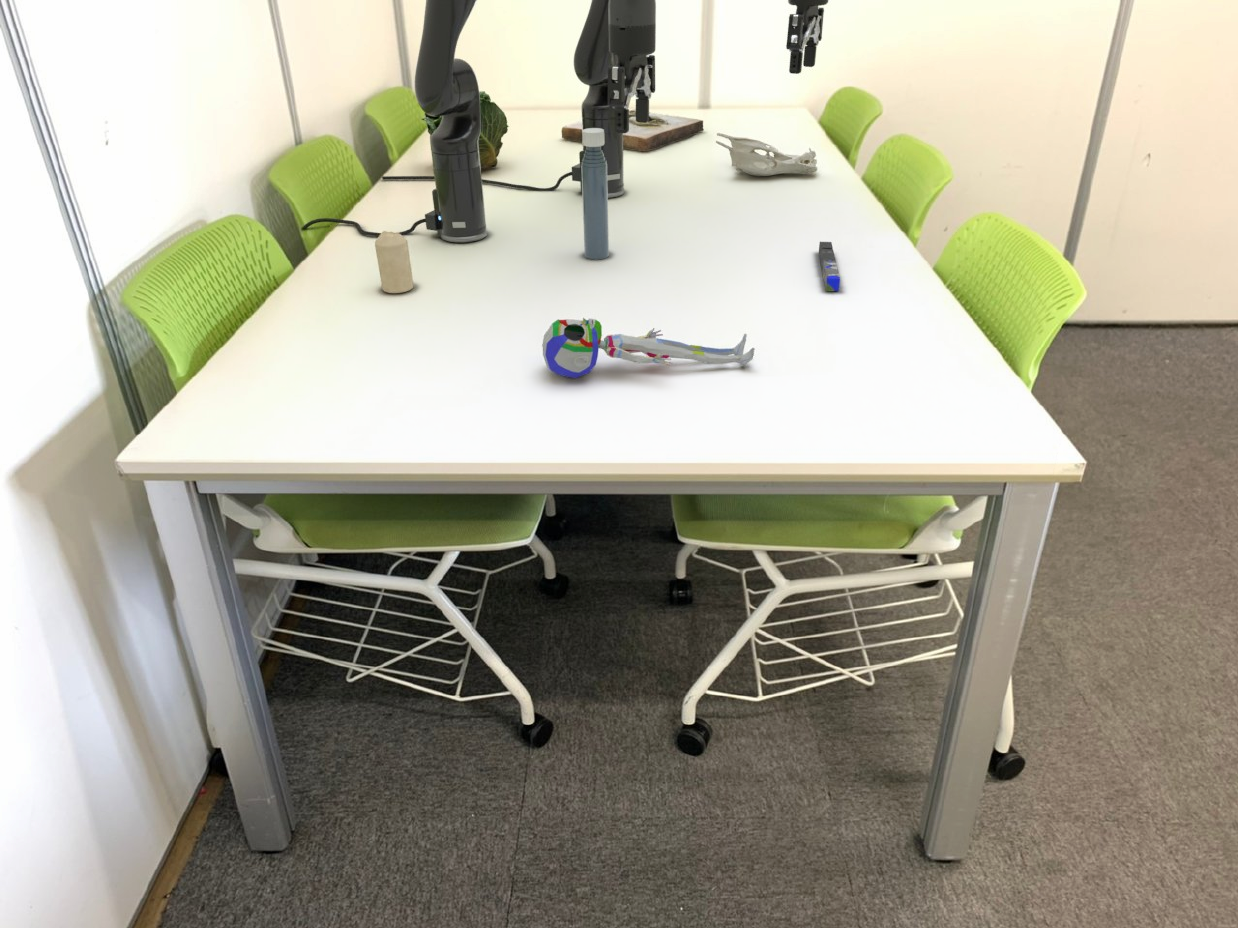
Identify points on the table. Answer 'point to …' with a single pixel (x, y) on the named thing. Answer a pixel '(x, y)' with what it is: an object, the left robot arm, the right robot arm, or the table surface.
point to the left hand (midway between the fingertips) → (632, 127)
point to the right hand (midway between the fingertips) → (802, 70)
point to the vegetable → (482, 129)
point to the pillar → (829, 266)
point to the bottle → (595, 204)
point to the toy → (622, 348)
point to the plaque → (647, 131)
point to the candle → (394, 262)
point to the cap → (593, 137)
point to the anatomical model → (766, 158)
